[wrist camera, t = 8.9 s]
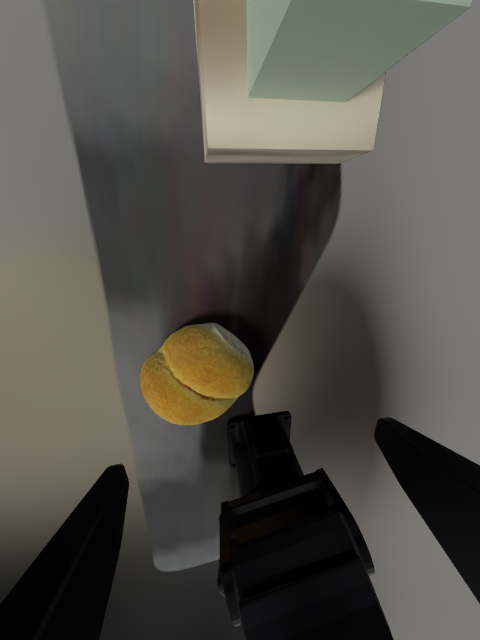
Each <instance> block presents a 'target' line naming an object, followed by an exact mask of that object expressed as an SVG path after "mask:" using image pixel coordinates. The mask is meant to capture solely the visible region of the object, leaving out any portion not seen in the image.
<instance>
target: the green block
mask: <svg viewBox="0 0 480 640" xmlns="http://www.w3.org/2000/svg"><path fill="white" fill-rule="evenodd" d="M471 3H472V0H247V95H248V98H264V99H285V100H306V101H326V102H346V101H348V100H349V99H350V98H352V97H353V96H354V95H355V94H357V93H358V92H359V91H361V90H362V89H363V88H365V87H366V86H367V85H369V84H370V83H371V82H373V81H374V80H375V79H376V78H378V77H379V76H380V75H382V74H383V73H384V72H386V71H387V70H388V69H390V68H391V67H392V66H394V65H395V64H396V63H397V62H399V61H400V60H401V59H403V58H404V57H405V56H407V55H408V54H409V53H411V52H412V51H413V50H415V49H416V48H417V47H418V46H420V45H421V44H422V43H424V42H425V41H426V40H428V39H429V38H430V37H432V36H433V35H434V34H435V33H437V32H438V31H439V30H441V29H442V28H443V27H444V26H446V25H447V24H449V23H450V22H451V21H453V20H454V19H455V18H457V17H458V16H459V15H460V14H462V13H463V12H464V11H466V10H467V9H468V8H470V7H471Z"/></svg>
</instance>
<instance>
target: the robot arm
mask: <svg viewBox="0 0 480 640" xmlns="http://www.w3.org/2000/svg"><path fill="white" fill-rule="evenodd" d="M285 416H286V417H285ZM290 429H291V414H290V412H289V411H283V412H276V413H270V414H264V415H257V416H251V417H245V418H238V419H232V420H229V421H228V422H227V435H228V450H229V464H230V467H231V468H236V470H237V476H238V482H239V488H240V494H241V498H238V499H235V500H232V501H229V502H228V501H225V502H222V503H221V514H220V518H219V521H220V559H219V569H218V578H217V584H218V590H219V592H220V593H221V594H222V595H223V596H224V597H225V599H226V602H227V606H228V609H229V613H230V616H231V619H232V622H233V624H234V626H238V625H242V630H243V635H244V640H394V639H393V637H392V635H391V631H390V628H389V626H388V624H387V621H386V618H385V616H384V613H383V610H382V608H381V605H380V603H379V600H378V598H377V596H376V593H375V590H374V588H373V585H372V583H371V580H370V577H369V576H370V575H372V574H374V572H375V571H374V565H373V562H372V558H371V555H370V553H369V550H368V547H367V545H366V543H365V540H364V538H363V536H362V533H361V531H360V529H359V527H358V525H357V523H356V521H355V519H354V518H353V516H352V514H351V512H350V511H349V509H348V507H347V506H346V504H345V503H344V501H343V500H342V498H341V497H340V495H339V493H338V492H337V490H336V489H335V487H334V486H333V484H332V482H331V481H330V479H329V477H328V476H327V474H326V473H325V471H324V470H323V468H321V469H318V470H316V472H313V473H310V474H307V475H304V474H303V471H302V469H301V467H300V464H299V462H298V460H297V457H296V455H295V453H294V450H293V448H292V446H291V444H290ZM374 438H375V441H376V442H377V444H378V446H379V448H380V450H381V451H382V453H383V455H384V457H385V459H386V461H387V462H388V464H389V466H390V468H391V469H392V471H393V473H394V475H395V477H396V478H397V480H398V482H399V483H400V485H401V487H402V488H403V490H404V491H405V493H406V494H407V496H408V497H409V499H410V500H411V502H412V503H413V505H414V506H415V508H416V509H417V511H418V512H419V514H420V515H421V517H422V518H423V519H424V521H425V522H426V524H427V525H428V527H429V529H430V530H431V531H432V533H433V534H434V536H435V537H436V539H437V541H438V542H439V544H440V545H441V547H442V548H443V550H444V551H445V552H446V554H447V555H448V557H449V558H450V560H451V561H452V563H453V564H454V566H455V567H456V569H457V570H458V572H459V573H460V575H461V576H462V578H463V579H464V581H465V582H466V584H467V585H468V587H469V588H470V590H471V591H472V593H473V594H474V596H475V597H476V599H477V600H478V602H479V603H480V466H479V465H478V464H476V463H474V462H472V461H470V460H468V459H467V458H465V457H463V456H461V455H459V454H457V453H455V452H454V451H452V450H450V449H448V448H446V447H445V446H443V445H441V444H439V443H437V442H435V441H433V440H432V439H430V438H428V437H426V436H424V435H422V434H421V433H419V432H417V431H415V430H413V429H411V428H410V427H408V426H406V425H404V424H402V423H400V422H398V421H397V420H395V419H393V418H391V417H385V418H380V419H379V420H378V421H377V425H376V429H375V433H374ZM128 489H129V481H128V477H127V474H126V471H125V468H124V465H123V464H116V465H111V466H109V467H108V468H107V469H106V470H105V471H104V472H103V474H102V475H101V476H100V477H99V479H98V480H97V481H96V483H95V484H94V485H93V487H92V488H91V489H90V490H89V491H88V493H87V494H86V495H85V496H84V498H83V499H82V500H81V501H80V503H79V504H78V505H77V507H76V508H75V509H74V510H73V512H72V513H71V514H70V516H69V517H68V518H67V519H66V520H65V522H64V523H63V525H62V526H61V527H60V528H59V529H58V531H57V532H56V533H55V534H54V536H53V537H52V538H51V540H50V541H49V542H48V543H47V545H46V546H45V547H44V549H43V550H42V551H41V552H40V554H39V555H38V556H37V558H36V559H35V560H34V561H33V562H32V564H31V565H30V566H29V568H28V569H27V570H26V571H25V573H24V574H23V575H22V576H21V578H20V579H19V580H18V582H17V583H16V584H15V585H14V587H13V588H12V589H11V591H10V592H9V593H8V594H7V596H6V597H5V598H4V599H3V601H2V602H1V603H0V640H99V639H100V635H101V631H102V626H103V622H104V618H105V613H106V609H107V604H108V600H109V596H110V592H111V587H112V583H113V578H114V574H115V570H116V566H117V561H118V557H119V551H120V547H121V540H122V534H123V526H124V519H125V511H126V504H127V497H128Z"/></svg>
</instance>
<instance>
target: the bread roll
mask: <svg viewBox="0 0 480 640" xmlns="http://www.w3.org/2000/svg"><path fill="white" fill-rule="evenodd" d="M253 374H254V367H253V361H252V358H251V355H250V352H249V349H248V348H247V347H246V346H245V345H244V344H243V343H242V342H241V341H240V340H239V339H238V338H237V337H236V336H234V335H233V334H232V333H230V332H229V331H228V330H226V329H224V328H223V327H222V326H220V325H218V324H216V323H205V324H195V325H189V326H185V327H183V328H181V329H179V330H177V331H176V332H174V333H173V334H171V335H170V336H169V337H168V338H167V340H166V341H165V343H164V344H163V346H162V347H161V348H160V349H159V350H158V351H157V352H156V353H154V354H153V355H152V356H150V357H149V358H148V359H147V360H146V361H145V363H144V365H143V366H142V370H141V374H140V382H141V388H142V394H143V396H144V398H145V400H146V401H147V403H148V405H149V406H150V407H151V409H152V410H153V411H154V412H155V413H156V414H157V415H159V416H160V417H161V418H163V419H165V420H167V421H169V422H171V423H173V424H178V425H195V424H200V423H203V422H207V421H210V420H213V419H215V418H217V417H219V416H220V415H222V414H223V413H224V412H225V411H226V410H227V409H228V408H229V407H230V406H231V405H232V404H233V403H234V402H235V400H236V399H237V398H238V397H239V396H240V395H242V394H243V393H244V392H246V391H247V389H248V387H249V385H250V383H251V381H252V378H253Z"/></svg>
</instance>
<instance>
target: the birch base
mask: <svg viewBox="0 0 480 640" xmlns="http://www.w3.org/2000/svg"><path fill="white" fill-rule="evenodd" d="M193 3H194V17H195V31H196V44H197V58H198V72H199V86H200V100H201V113H202V127H203V141H204V155H205V163H331V164H338V163H341V162H344V161H346V160H349V159H351V158H354V157H357V156H359V155H362V154H365V153H368V152H370V151H373V149H374V143H375V137H376V130H377V124H378V118H379V112H380V105H381V99H382V93H383V87H384V81H385V75H386V72H384V73H383V74H382V75H380V76H379V77H378V78H376V79H375V80H374V81H373V82H371V83H370V84H369V85H367V86H366V87H365V88H363V89H362V90H361V91H359V92H358V93H357V94H355V95H354V96H353V97H352V98H350V99H349V100H348V101H346V102H326V101H306V100H285V99H264V98H248V95H247V0H193Z"/></svg>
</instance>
